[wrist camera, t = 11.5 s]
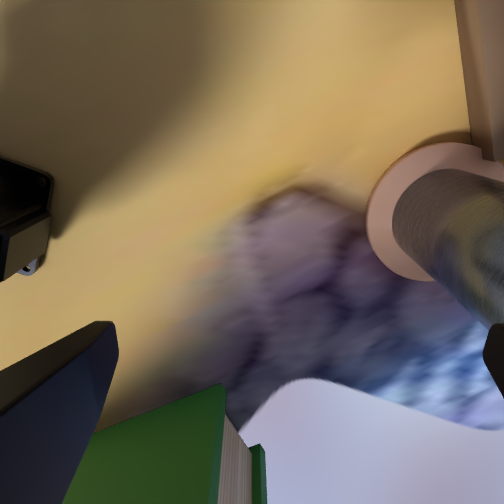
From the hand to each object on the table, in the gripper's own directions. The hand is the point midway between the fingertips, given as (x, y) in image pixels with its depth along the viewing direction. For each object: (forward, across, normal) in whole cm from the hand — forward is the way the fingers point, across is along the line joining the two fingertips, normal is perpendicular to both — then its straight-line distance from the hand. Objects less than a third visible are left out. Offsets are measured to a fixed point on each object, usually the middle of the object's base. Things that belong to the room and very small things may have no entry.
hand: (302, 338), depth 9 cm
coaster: (+13, -9, 0) cm, 16 cm away
